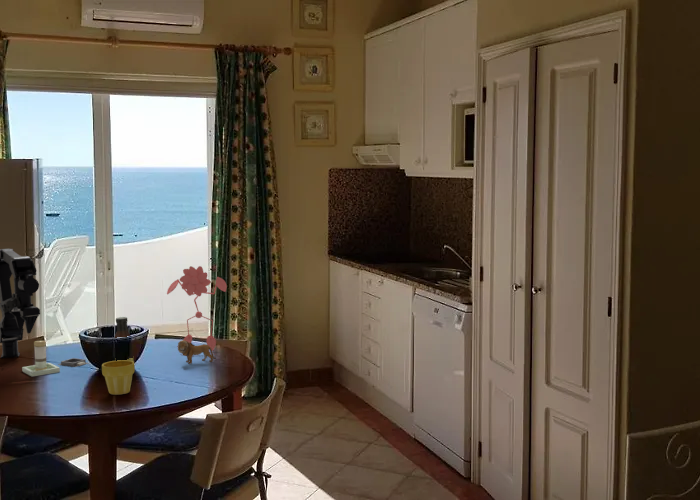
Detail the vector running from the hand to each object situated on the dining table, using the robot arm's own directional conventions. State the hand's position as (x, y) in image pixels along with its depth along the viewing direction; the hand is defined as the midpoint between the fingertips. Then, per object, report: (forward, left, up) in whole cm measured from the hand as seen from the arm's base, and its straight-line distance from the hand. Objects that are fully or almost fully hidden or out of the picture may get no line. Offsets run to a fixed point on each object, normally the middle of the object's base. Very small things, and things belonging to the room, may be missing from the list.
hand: (24, 331), depth 304 cm
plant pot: (+50, +32, -13) cm, 61 cm away
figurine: (-1, +64, -13) cm, 65 cm away
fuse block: (+6, +17, -13) cm, 22 cm away
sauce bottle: (+22, +35, -13) cm, 43 cm away
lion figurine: (+17, +61, -13) cm, 65 cm away
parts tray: (+14, +6, -13) cm, 20 cm away
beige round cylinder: (+14, +6, -12) cm, 20 cm away
